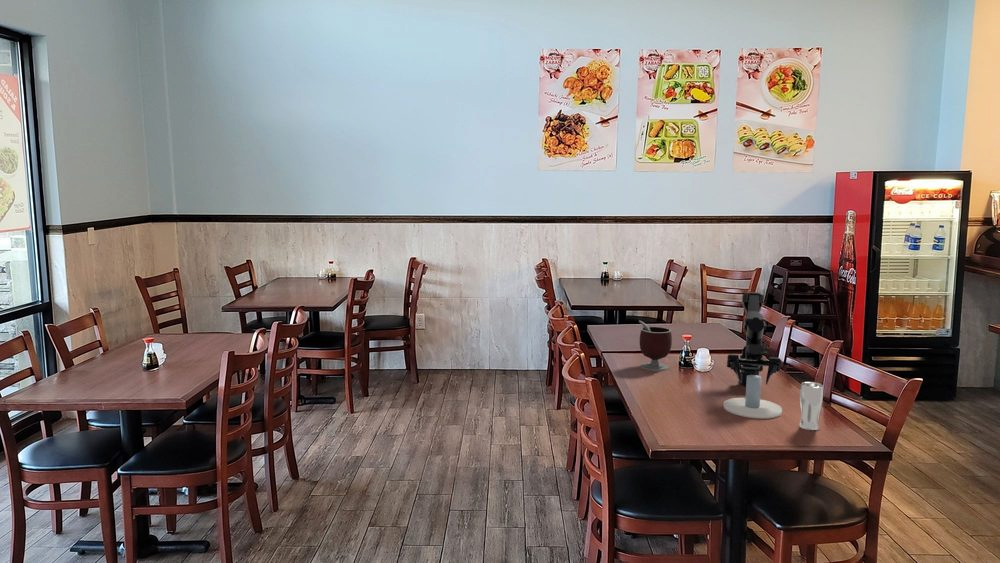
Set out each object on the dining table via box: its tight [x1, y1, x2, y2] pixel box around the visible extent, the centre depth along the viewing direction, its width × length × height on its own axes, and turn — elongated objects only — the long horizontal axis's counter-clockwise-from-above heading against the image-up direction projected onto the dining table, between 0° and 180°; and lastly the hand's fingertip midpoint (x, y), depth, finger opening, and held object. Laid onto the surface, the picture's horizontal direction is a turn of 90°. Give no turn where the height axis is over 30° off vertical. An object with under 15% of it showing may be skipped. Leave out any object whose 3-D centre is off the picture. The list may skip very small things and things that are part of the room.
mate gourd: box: [638, 320, 673, 372], centre depth 309 cm, size 16×14×20 cm
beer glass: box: [798, 381, 824, 431], centre depth 234 cm, size 7×7×15 cm
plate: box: [722, 397, 783, 420], centre depth 253 cm, size 20×20×1 cm
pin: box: [744, 375, 763, 408], centre depth 252 cm, size 5×5×11 cm
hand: (753, 382), depth 255 cm, fingers open, 9 cm apart
